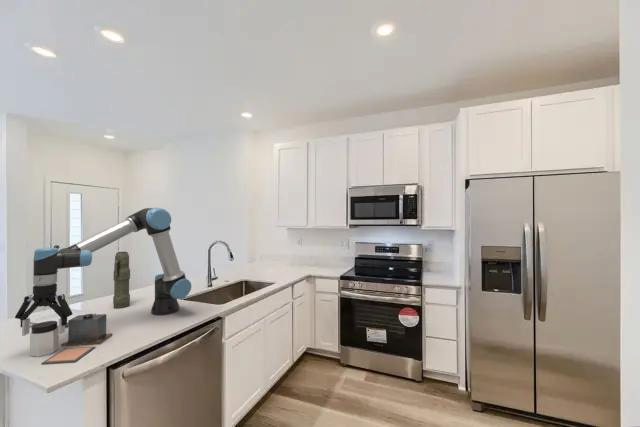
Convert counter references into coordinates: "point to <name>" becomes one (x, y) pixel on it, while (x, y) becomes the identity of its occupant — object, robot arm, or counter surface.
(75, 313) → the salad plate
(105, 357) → the counter surface
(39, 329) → the jar
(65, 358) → the mat
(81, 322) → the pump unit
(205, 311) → the counter surface
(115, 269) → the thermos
